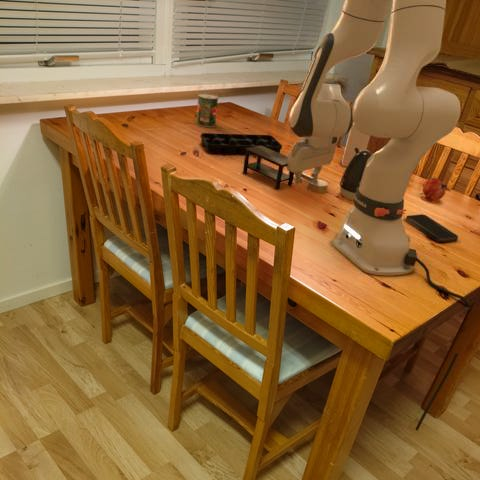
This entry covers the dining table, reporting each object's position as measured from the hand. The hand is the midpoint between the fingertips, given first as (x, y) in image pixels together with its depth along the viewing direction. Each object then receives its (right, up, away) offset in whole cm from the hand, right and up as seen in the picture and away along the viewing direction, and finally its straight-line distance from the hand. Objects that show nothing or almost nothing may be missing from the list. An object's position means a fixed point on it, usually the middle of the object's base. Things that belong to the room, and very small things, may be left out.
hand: (306, 180), depth 157 cm
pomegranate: (+42, -5, +5) cm, 43 cm away
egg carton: (-21, +17, +21) cm, 34 cm away
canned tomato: (-36, +35, +40) cm, 64 cm away
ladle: (0, -1, +1) cm, 1 cm away
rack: (-13, +1, 0) cm, 13 cm away
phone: (+34, -19, -16) cm, 42 cm away
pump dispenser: (+14, -7, -4) cm, 16 cm away
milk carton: (+20, +12, +23) cm, 33 cm away
